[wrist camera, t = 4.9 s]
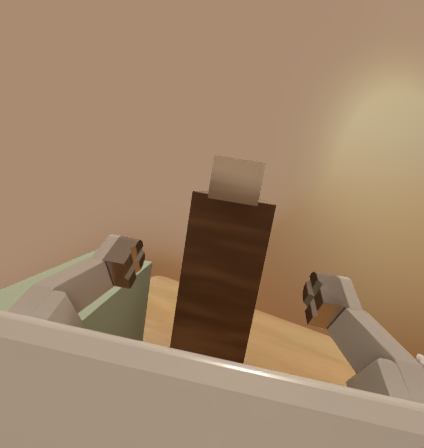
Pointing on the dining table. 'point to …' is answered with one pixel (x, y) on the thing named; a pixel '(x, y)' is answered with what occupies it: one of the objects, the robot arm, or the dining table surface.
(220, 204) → the brown wooden block
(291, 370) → the dining table surface
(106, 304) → the box
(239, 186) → the baton
